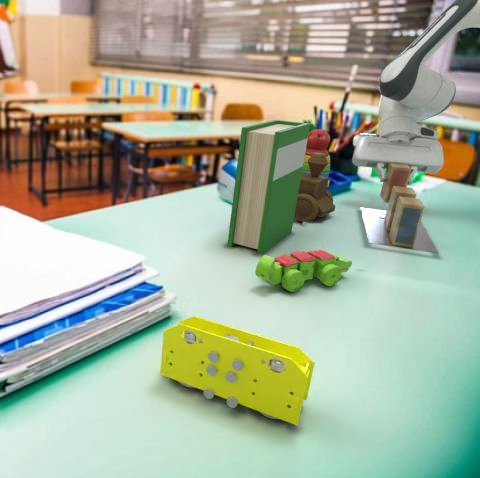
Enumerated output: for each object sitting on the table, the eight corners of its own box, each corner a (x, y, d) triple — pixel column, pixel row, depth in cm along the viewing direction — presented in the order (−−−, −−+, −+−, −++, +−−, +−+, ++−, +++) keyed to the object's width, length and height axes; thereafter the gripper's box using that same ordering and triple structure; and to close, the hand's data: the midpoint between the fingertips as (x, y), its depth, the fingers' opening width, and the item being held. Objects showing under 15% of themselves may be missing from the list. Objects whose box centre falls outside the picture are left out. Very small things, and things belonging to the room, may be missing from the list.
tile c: (396, 197, 126) (405, 163, 122) (402, 204, 120) (411, 168, 117) (379, 196, 127) (388, 161, 123) (384, 202, 121) (393, 166, 118)
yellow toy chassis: (158, 382, 59) (162, 321, 56) (177, 358, 63) (182, 301, 60) (295, 434, 51) (309, 367, 48) (305, 403, 56) (319, 341, 53)
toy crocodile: (330, 267, 93) (337, 237, 91) (358, 282, 87) (365, 250, 85) (242, 280, 86) (247, 248, 84) (265, 298, 80) (271, 263, 78)
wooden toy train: (240, 208, 126) (248, 143, 120) (261, 200, 134) (270, 138, 128) (316, 228, 114) (330, 156, 108) (335, 217, 121) (349, 150, 115)
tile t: (409, 238, 107) (419, 198, 104) (413, 248, 102) (424, 206, 98) (388, 235, 108) (398, 196, 105) (391, 244, 103) (402, 203, 100)
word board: (415, 217, 124) (416, 214, 124) (438, 256, 100) (439, 252, 100) (359, 210, 129) (360, 206, 128) (367, 246, 104) (368, 242, 104)
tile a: (402, 224, 116) (412, 187, 113) (406, 233, 110) (416, 194, 107) (384, 222, 117) (392, 185, 114) (386, 230, 112) (396, 192, 108)
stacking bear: (294, 183, 153) (304, 125, 146) (328, 188, 148) (340, 129, 142) (285, 190, 144) (295, 129, 138) (321, 196, 139) (334, 133, 133)
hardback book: (261, 254, 97) (280, 132, 89) (227, 245, 101) (241, 127, 93) (291, 232, 111) (310, 123, 102) (260, 224, 115) (275, 119, 106)
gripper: (356, 125, 126) (353, 171, 121) (446, 132, 121) (447, 180, 116) (350, 140, 132) (347, 184, 127) (435, 147, 127) (436, 193, 121)
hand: (396, 182), depth 121 cm, fingers closed on tile c, 4 cm apart
